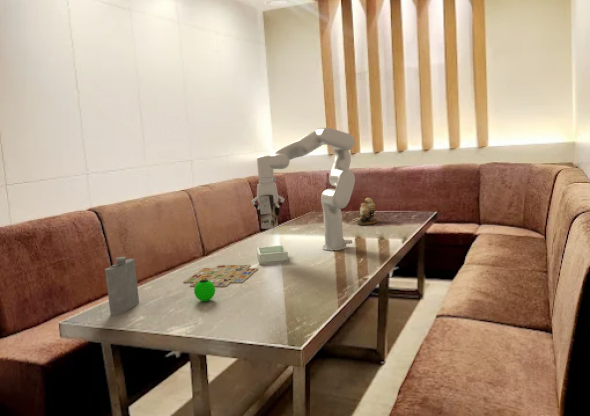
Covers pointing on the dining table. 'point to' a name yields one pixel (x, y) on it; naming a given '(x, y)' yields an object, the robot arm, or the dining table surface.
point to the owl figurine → (367, 213)
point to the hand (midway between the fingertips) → (269, 216)
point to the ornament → (204, 289)
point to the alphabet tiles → (222, 275)
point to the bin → (272, 254)
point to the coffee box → (268, 212)
